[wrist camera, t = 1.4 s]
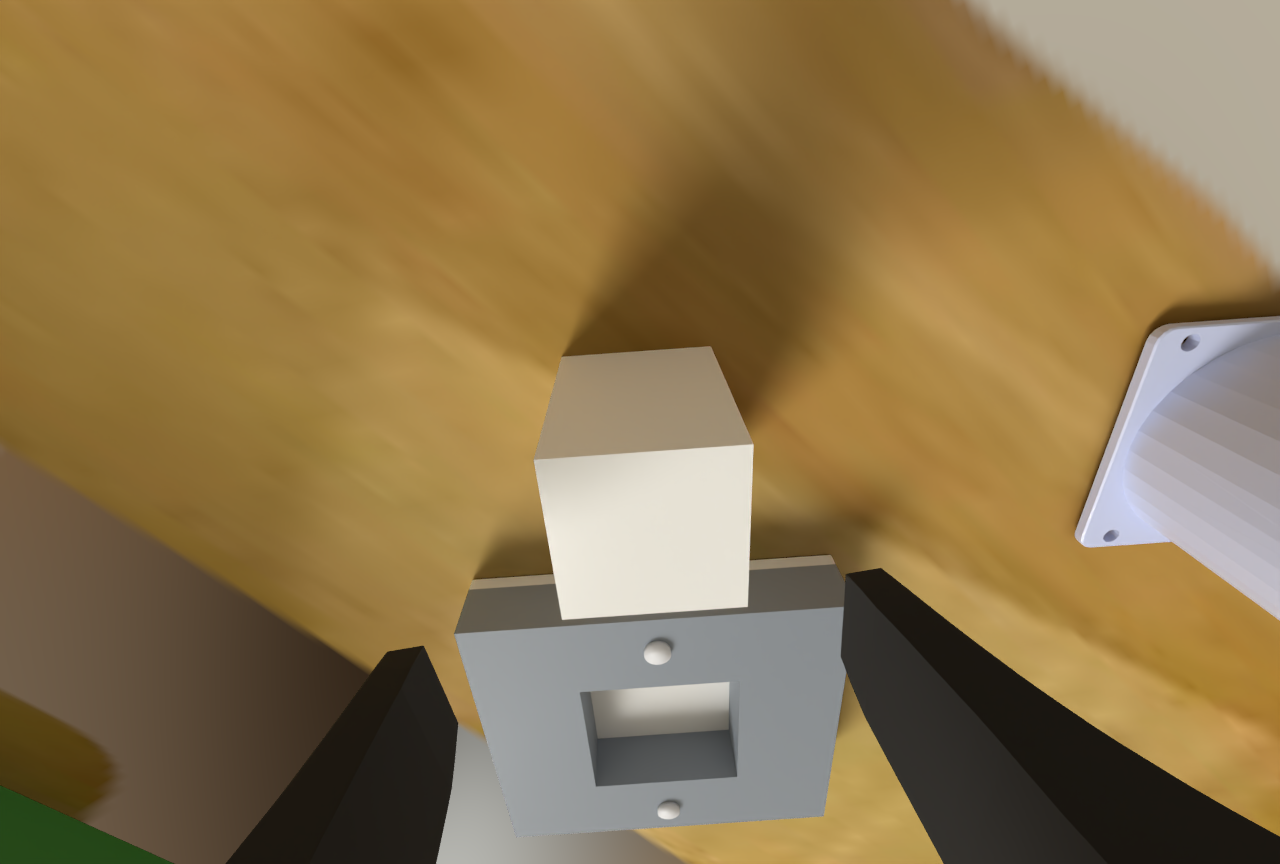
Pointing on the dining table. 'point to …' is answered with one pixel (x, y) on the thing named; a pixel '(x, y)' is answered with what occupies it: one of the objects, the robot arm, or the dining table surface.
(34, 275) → the dining table surface
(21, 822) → the hardback book
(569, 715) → the outlet box
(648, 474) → the block
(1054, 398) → the dining table surface
